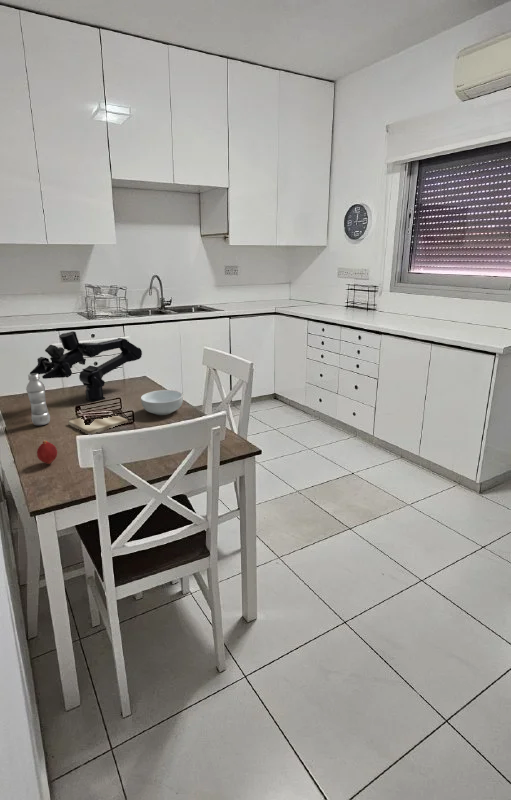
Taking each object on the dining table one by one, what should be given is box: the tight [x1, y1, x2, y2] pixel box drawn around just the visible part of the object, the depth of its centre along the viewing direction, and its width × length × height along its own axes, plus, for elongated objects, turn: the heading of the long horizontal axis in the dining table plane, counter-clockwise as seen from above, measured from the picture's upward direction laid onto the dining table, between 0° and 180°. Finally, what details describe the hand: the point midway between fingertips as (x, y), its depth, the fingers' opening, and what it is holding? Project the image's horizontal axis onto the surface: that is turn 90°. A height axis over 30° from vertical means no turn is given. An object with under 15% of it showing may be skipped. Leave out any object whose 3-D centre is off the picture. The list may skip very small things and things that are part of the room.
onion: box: [36, 440, 58, 465], centre depth 145 cm, size 6×6×8 cm
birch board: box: [68, 415, 129, 435], centre depth 179 cm, size 16×16×2 cm
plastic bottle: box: [25, 373, 51, 426], centre depth 177 cm, size 6×7×20 cm
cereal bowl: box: [140, 389, 184, 416], centre depth 191 cm, size 17×17×7 cm
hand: (36, 375), depth 186 cm, fingers open, 9 cm apart
